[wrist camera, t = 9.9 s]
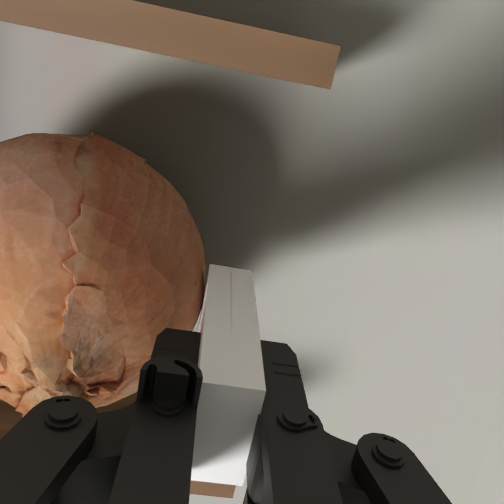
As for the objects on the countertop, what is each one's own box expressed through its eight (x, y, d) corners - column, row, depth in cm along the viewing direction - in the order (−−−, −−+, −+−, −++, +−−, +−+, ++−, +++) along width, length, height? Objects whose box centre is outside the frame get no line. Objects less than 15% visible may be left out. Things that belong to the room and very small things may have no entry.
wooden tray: (-174, -54, 16) (-332, -102, 12) (312, 51, 18) (340, 46, 14) (-132, 370, 22) (-226, 449, 18) (231, 415, 24) (232, 498, 20)
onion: (159, 274, 25) (168, 476, 18) (-53, 241, 21) (-141, 482, 14) (227, 117, 19) (280, 332, 12) (-51, 33, 15) (-198, 276, 8)
